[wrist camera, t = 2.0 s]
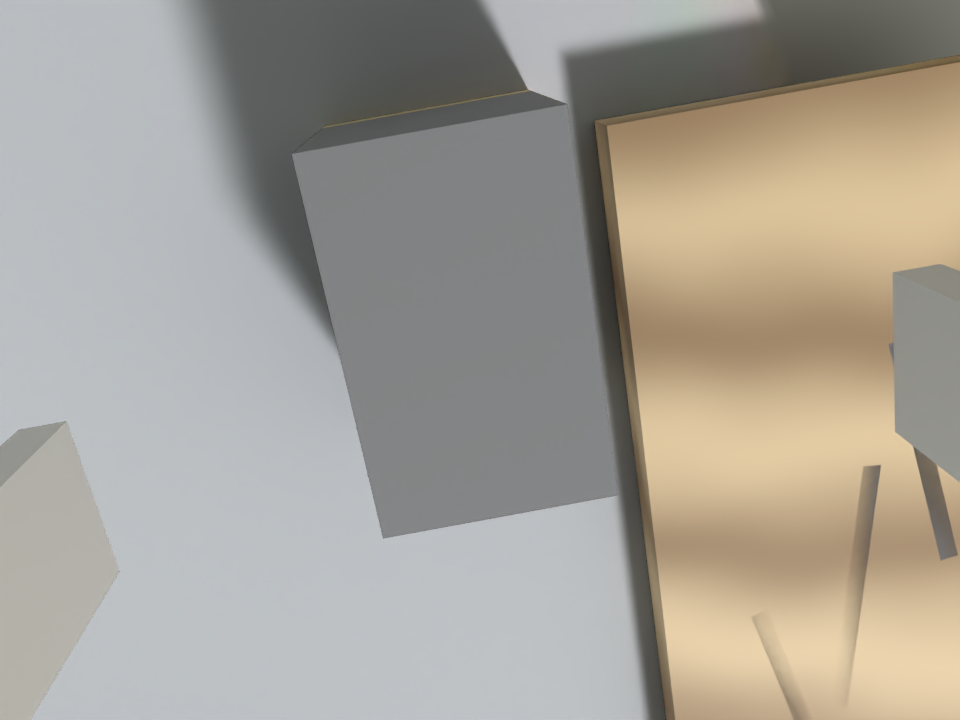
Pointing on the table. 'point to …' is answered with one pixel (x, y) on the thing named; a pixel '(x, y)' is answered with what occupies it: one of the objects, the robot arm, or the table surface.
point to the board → (788, 393)
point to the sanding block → (462, 308)
